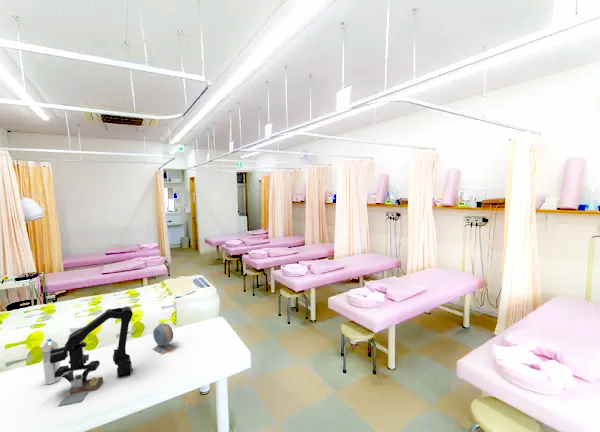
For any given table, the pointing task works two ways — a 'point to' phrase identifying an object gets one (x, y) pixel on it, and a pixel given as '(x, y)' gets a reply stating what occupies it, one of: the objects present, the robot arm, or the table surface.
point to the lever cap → (77, 381)
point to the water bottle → (48, 367)
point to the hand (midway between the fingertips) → (79, 383)
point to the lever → (94, 381)
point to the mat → (73, 398)
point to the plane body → (87, 386)
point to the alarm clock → (163, 338)
